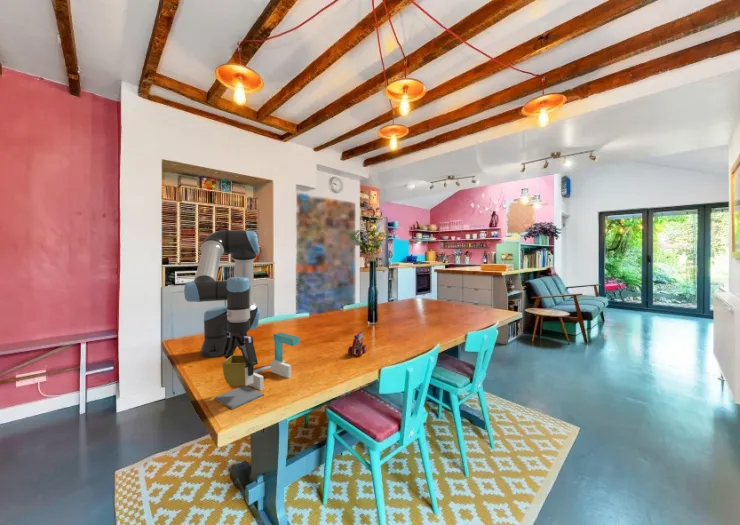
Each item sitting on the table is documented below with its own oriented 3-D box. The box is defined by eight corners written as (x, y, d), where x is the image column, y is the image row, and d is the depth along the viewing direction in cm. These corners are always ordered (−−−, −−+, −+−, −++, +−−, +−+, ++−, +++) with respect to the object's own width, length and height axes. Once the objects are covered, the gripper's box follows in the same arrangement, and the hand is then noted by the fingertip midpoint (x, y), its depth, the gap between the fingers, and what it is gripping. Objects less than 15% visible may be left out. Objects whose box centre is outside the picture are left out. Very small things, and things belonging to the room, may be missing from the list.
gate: (273, 363, 140) (273, 334, 139) (280, 360, 143) (280, 332, 142) (292, 369, 132) (292, 339, 131) (299, 366, 135) (299, 337, 135)
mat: (214, 398, 107) (214, 397, 107) (245, 386, 117) (245, 385, 117) (232, 409, 100) (232, 407, 100) (263, 395, 110) (263, 393, 110)
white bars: (234, 378, 124) (233, 366, 124) (282, 361, 144) (282, 350, 144) (260, 390, 114) (260, 377, 114) (308, 369, 134) (308, 358, 134)
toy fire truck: (346, 356, 151) (346, 336, 151) (355, 349, 163) (355, 330, 162) (359, 358, 149) (359, 337, 148) (367, 350, 160) (367, 331, 160)
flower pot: (231, 378, 112) (231, 354, 112) (255, 377, 113) (255, 354, 113) (221, 389, 104) (221, 363, 103) (247, 388, 104) (247, 362, 104)
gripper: (211, 317, 112) (212, 374, 112) (248, 327, 98) (249, 392, 98) (230, 314, 118) (231, 368, 118) (268, 322, 104) (268, 384, 104)
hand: (239, 379), depth 108 cm, fingers closed on flower pot, 12 cm apart
